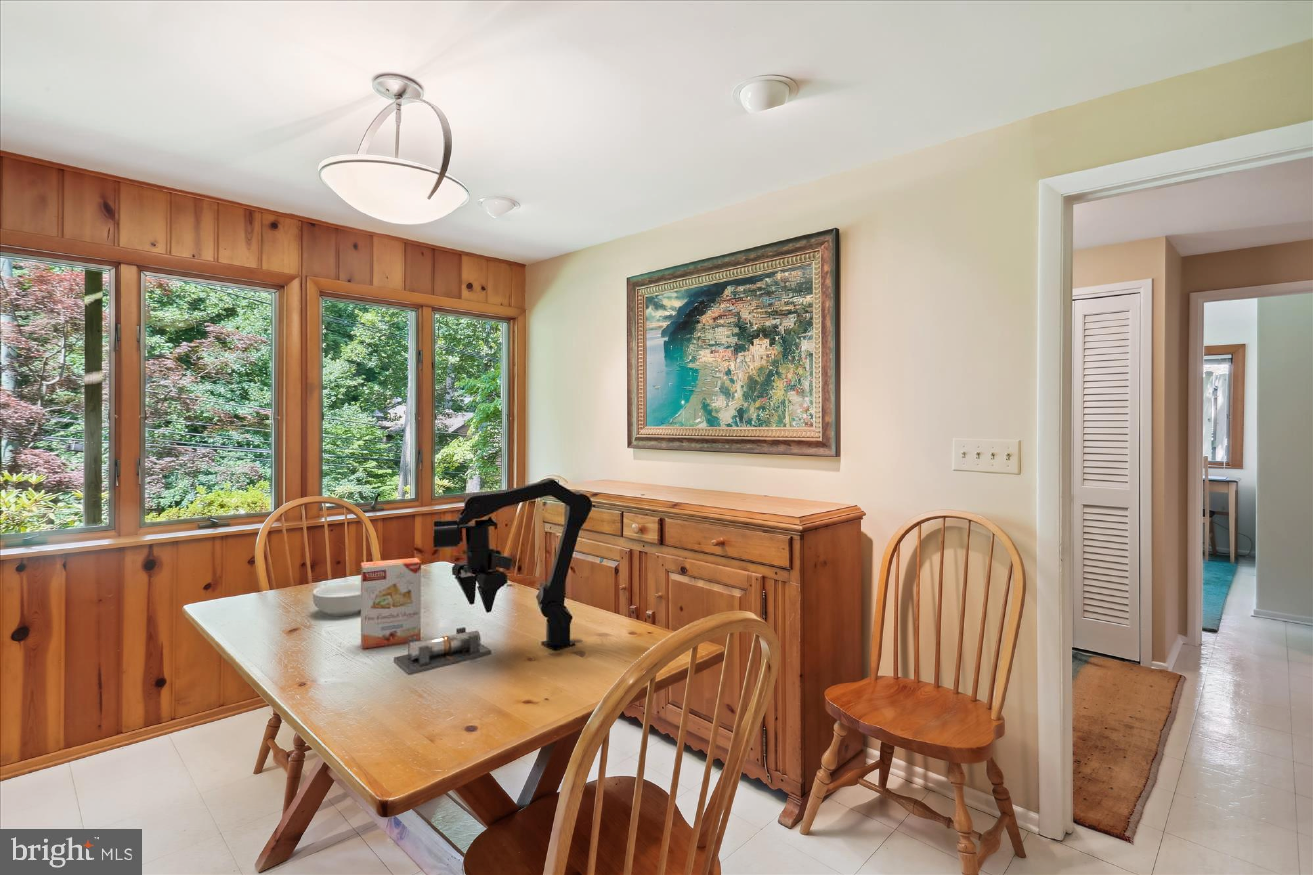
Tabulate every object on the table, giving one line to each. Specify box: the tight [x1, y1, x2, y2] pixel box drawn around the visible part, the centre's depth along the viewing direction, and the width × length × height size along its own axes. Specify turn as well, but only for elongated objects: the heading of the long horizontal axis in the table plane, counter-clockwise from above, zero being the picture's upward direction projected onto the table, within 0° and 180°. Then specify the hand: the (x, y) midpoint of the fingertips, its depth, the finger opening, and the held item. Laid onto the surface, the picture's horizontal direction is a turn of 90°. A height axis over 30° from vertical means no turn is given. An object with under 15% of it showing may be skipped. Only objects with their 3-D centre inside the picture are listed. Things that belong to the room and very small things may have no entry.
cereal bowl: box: [312, 581, 361, 617], centre depth 190 cm, size 17×17×7 cm
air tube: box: [409, 629, 482, 660], centre depth 155 cm, size 16×4×4 cm, turn 124°
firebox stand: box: [393, 626, 492, 675], centre depth 155 cm, size 10×20×5 cm, turn 130°
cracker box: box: [360, 557, 422, 650], centre depth 165 cm, size 14×6×21 cm, turn 118°
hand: (480, 608), depth 158 cm, fingers open, 9 cm apart
